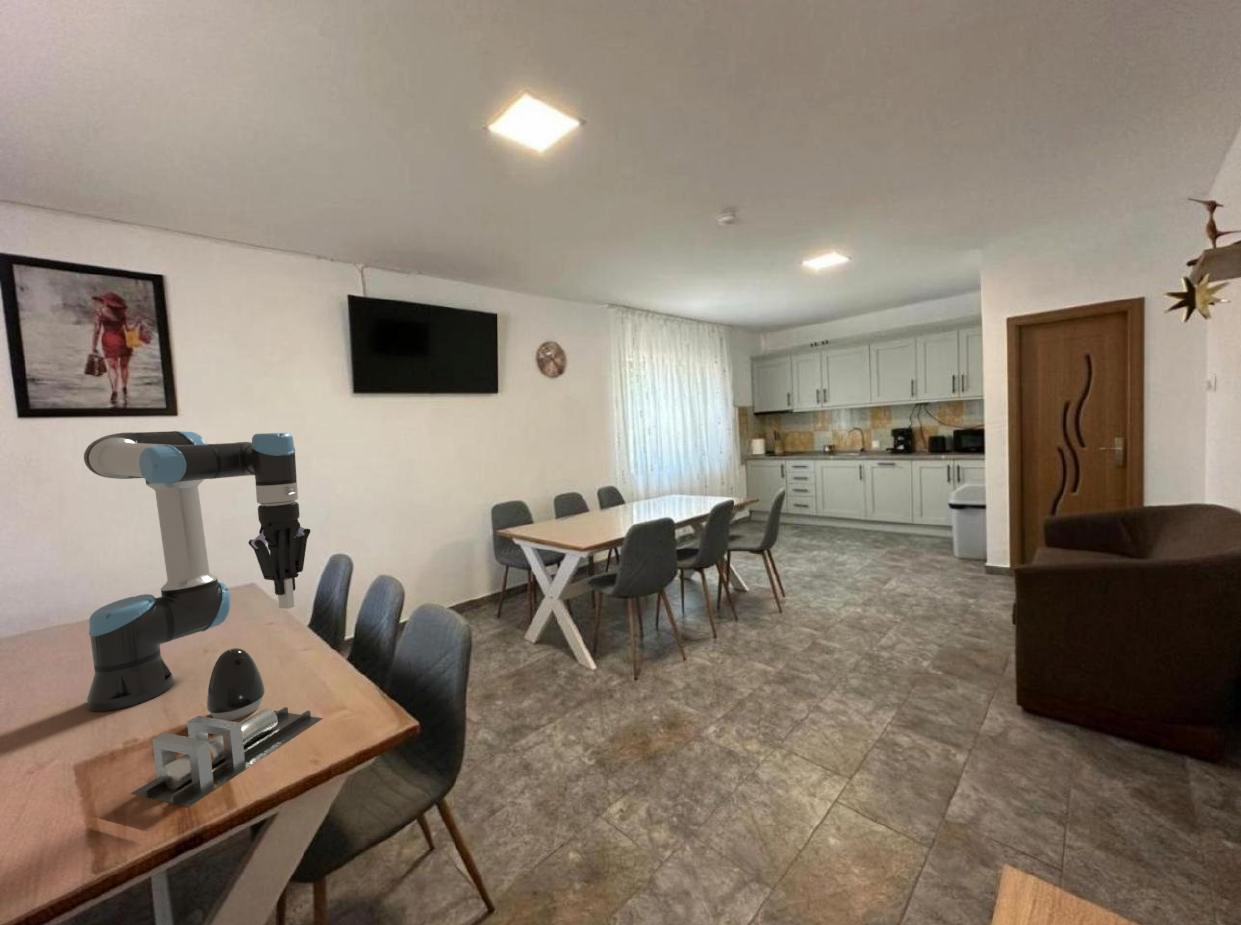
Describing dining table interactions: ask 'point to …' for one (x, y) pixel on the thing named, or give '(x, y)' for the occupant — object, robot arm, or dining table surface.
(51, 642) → the dining table surface
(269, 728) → the tube
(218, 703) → the black tall rounded dome
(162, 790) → the twin arch cradle
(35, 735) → the dining table surface
